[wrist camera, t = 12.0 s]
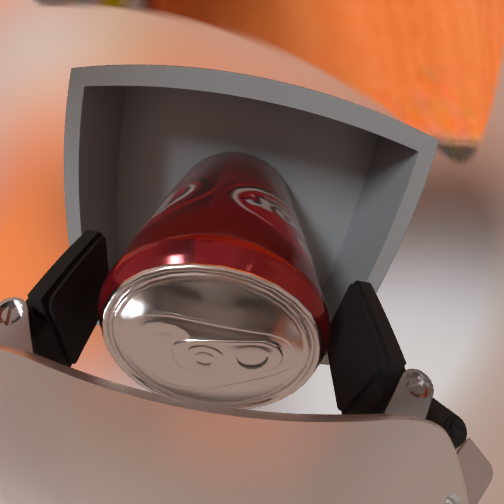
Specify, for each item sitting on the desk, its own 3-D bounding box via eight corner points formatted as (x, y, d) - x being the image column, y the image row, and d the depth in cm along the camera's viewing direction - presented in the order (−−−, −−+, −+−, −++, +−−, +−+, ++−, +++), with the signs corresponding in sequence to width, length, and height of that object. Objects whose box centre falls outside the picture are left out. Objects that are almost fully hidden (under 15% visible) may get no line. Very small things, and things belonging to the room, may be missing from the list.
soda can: (183, 253, 20) (130, 404, 10) (173, 151, 16) (56, 249, 6) (286, 254, 20) (311, 414, 9) (293, 150, 16) (362, 252, 6)
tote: (389, 125, 16) (438, 140, 11) (320, 310, 24) (333, 364, 19) (122, 72, 14) (71, 68, 9) (114, 273, 22) (84, 320, 17)
